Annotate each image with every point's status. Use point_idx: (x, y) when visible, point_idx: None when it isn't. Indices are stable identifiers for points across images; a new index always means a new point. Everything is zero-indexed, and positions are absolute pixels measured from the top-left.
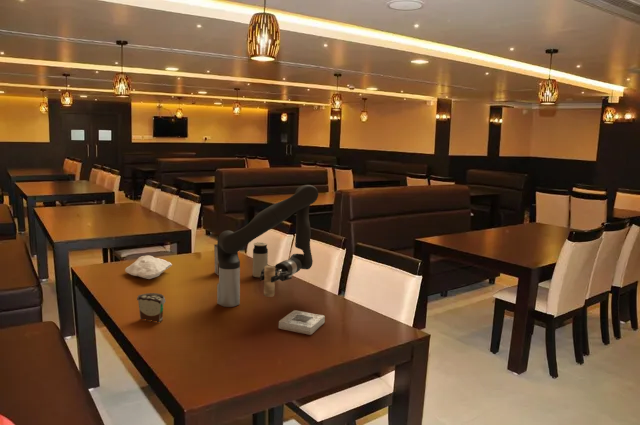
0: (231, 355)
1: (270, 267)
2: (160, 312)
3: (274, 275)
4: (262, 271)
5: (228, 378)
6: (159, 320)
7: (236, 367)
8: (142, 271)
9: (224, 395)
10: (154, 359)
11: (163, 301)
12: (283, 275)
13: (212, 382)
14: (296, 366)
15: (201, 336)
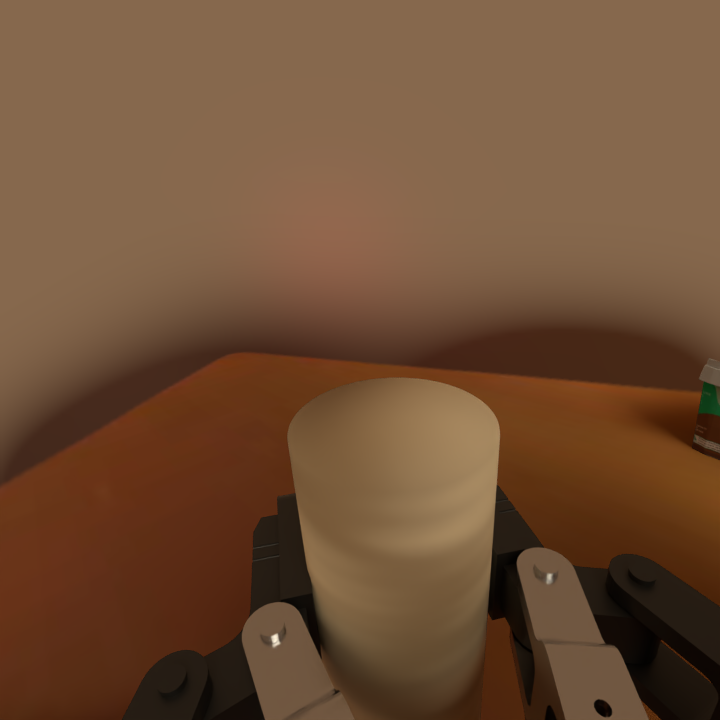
0: (277, 447)
1: (356, 410)
2: (699, 410)
3: (306, 560)
4: (631, 566)
5: (216, 401)
6: (694, 439)
7: (224, 426)
8: None
9: (192, 378)
10: (422, 373)
11: (715, 375)
12: (143, 678)
13: (240, 385)
14: (32, 500)
15: None
